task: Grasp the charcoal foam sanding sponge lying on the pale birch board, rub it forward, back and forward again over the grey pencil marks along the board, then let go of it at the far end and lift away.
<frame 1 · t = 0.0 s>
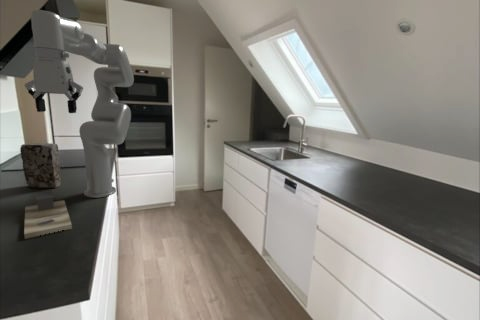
hand: (57, 112, 86), 37 cm above the counter, tool pointing down, fingers open, 9 cm apart
sanding sponge: (46, 207, 97), point 2 cm above the counter, touching birch board
birch board: (47, 219, 92), on the counter
stone block: (44, 187, 122), on the counter
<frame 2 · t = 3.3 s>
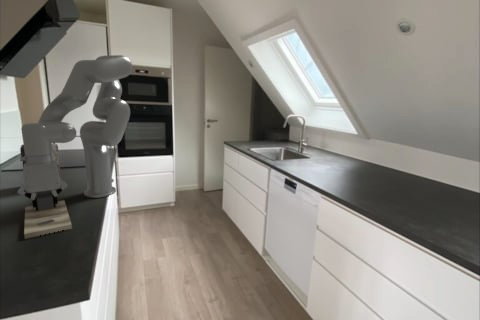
hand: (45, 207, 97), 2 cm above the counter, tool pointing down, fingers closed on sanding sponge, 4 cm apart
sanding sponge: (46, 207, 97), point 2 cm above the counter, touching birch board, gripper
everything else where it was.
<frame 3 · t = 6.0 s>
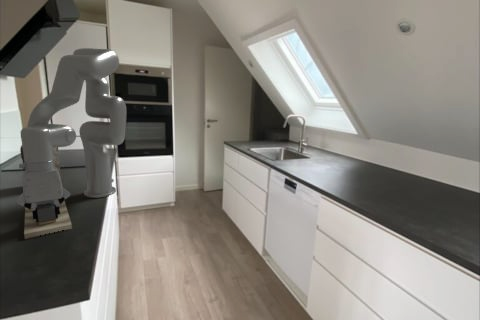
hand: (47, 218, 88), 2 cm above the counter, tool pointing down, fingers closed on sanding sponge, 4 cm apart
sanding sponge: (47, 218, 89), point 2 cm above the counter, touching gripper
everything else where it was.
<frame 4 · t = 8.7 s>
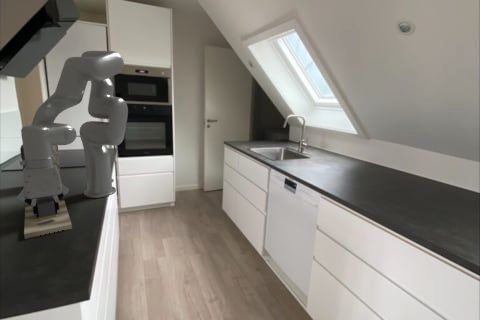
hand: (46, 213, 92), 2 cm above the counter, tool pointing down, fingers closed on sanding sponge, 4 cm apart
sanding sponge: (47, 213, 92), point 2 cm above the counter, touching gripper
everything else where it was.
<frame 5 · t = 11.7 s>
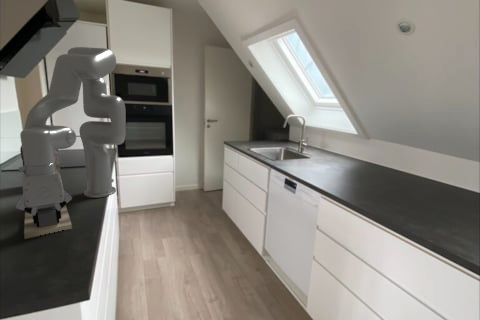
hand: (48, 222, 86), 2 cm above the counter, tool pointing down, fingers closed on sanding sponge, 4 cm apart
sanding sponge: (48, 223, 86), point 2 cm above the counter, touching gripper
everything else where it was.
when the fingers open (2 cm above the counter, at t = 12.4 s): sanding sponge stays where it is, resting on birch board.
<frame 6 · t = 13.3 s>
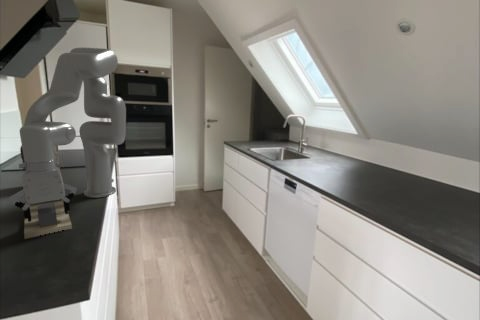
hand: (48, 216, 86), 4 cm above the counter, tool pointing down, fingers open, 9 cm apart
sanding sponge: (48, 223, 86), point 2 cm above the counter, touching birch board
everything else where it was.
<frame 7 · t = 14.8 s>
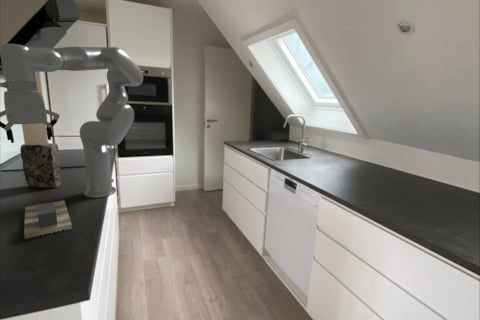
hand: (31, 140, 87), 27 cm above the counter, tool pointing down, fingers open, 9 cm apart
nothing on the counter moved.
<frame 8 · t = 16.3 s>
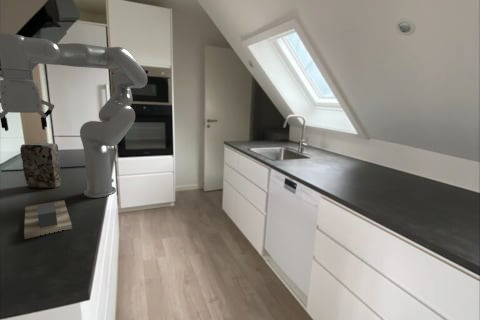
hand: (25, 129, 88), 30 cm above the counter, tool pointing down, fingers open, 9 cm apart
nothing on the counter moved.
at the end: sanding sponge inside the target area on the birch board (0.5 cm from its centre), point 1.6 cm above the birch board's base; sanding sponge moved 14.3 cm from its start; the gripper is holding nothing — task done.
